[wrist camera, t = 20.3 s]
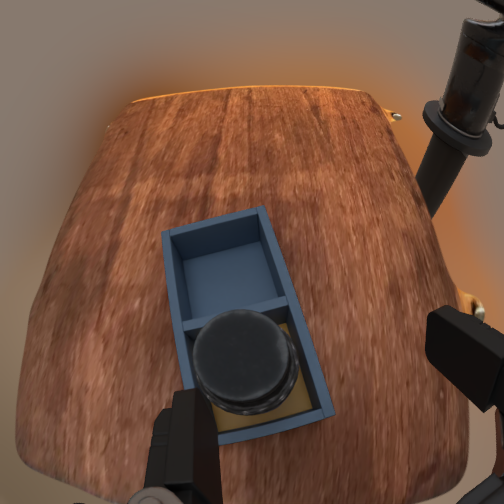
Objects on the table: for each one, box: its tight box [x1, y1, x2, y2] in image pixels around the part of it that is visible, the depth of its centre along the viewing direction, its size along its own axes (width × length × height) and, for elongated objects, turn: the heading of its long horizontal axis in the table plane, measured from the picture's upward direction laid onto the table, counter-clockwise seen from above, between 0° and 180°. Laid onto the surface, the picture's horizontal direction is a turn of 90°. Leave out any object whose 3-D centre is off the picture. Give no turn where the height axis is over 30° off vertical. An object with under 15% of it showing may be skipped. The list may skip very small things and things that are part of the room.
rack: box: [161, 205, 335, 446], centre depth 24 cm, size 10×18×5 cm, turn 14°
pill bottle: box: [193, 309, 299, 416], centre depth 18 cm, size 6×6×11 cm
